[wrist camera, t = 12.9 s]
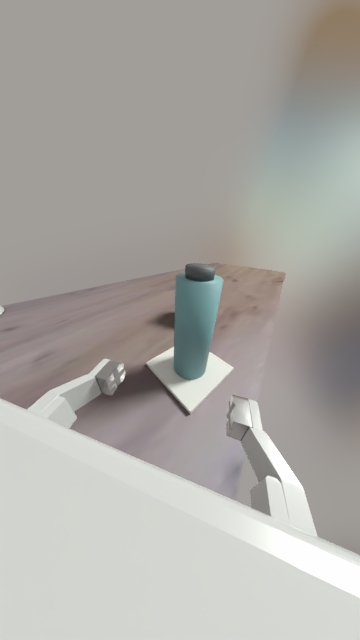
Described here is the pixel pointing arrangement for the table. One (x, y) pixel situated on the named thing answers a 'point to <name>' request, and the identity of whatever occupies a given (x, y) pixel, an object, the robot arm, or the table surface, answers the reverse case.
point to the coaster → (185, 389)
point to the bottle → (195, 318)
